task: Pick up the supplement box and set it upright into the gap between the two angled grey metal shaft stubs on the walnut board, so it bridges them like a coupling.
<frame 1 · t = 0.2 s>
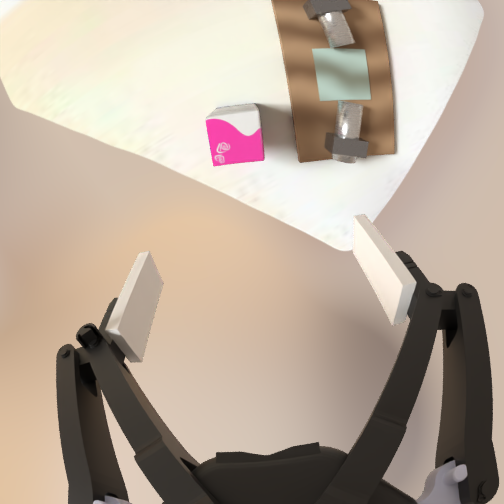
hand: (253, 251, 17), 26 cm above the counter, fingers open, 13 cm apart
board: (340, 74, 32), on the counter
supplement box: (237, 124, 36), on the counter
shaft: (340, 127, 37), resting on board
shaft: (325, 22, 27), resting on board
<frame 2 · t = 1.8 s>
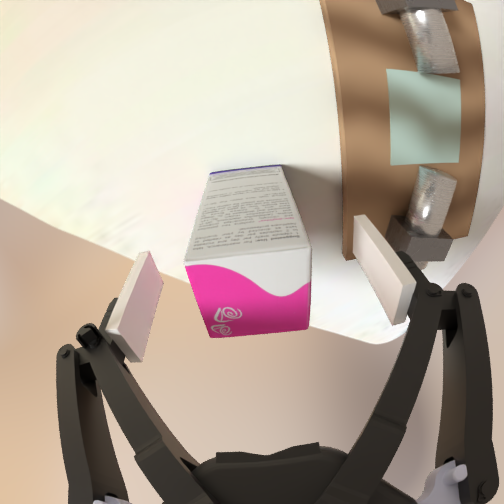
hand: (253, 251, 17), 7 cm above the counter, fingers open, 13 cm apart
board: (420, 116, 18), on the counter
supplement box: (248, 199, 22), on the counter
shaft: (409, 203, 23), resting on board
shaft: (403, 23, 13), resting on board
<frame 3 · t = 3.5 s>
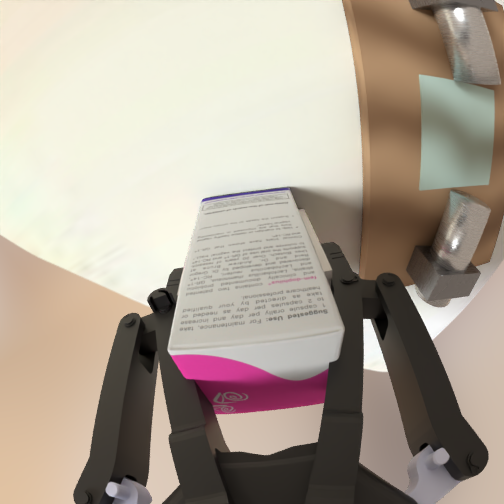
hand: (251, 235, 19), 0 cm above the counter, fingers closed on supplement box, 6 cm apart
board: (451, 131, 15), on the counter
supplement box: (249, 229, 19), on the counter, touching gripper
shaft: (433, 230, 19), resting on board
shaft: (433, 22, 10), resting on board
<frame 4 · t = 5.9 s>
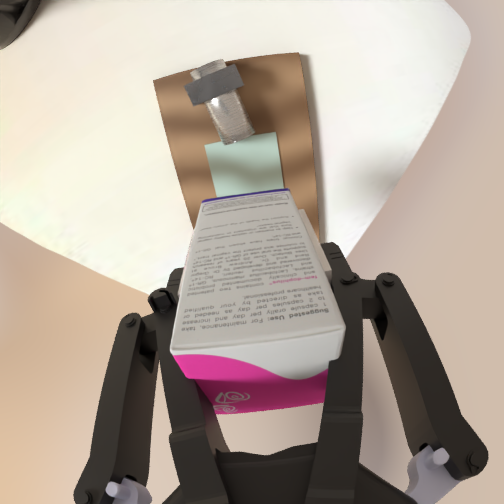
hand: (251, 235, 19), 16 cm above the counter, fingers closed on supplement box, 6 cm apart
board: (245, 167, 32), on the counter
supplement box: (249, 230, 19), point 15 cm above the counter, touching gripper
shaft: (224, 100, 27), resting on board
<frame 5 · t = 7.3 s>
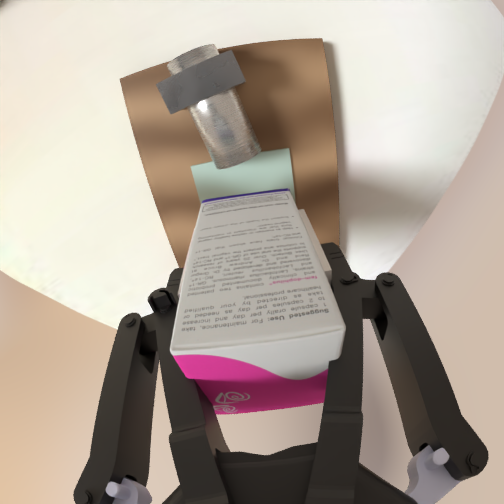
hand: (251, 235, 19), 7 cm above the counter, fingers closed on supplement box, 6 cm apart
board: (247, 194, 24), on the counter
supplement box: (249, 230, 19), point 6 cm above the counter, touching gripper
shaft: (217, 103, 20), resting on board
when the fingers open (3 cm above the counter, at t = 8.5 s): supplement box drops 1 cm, resting on board.
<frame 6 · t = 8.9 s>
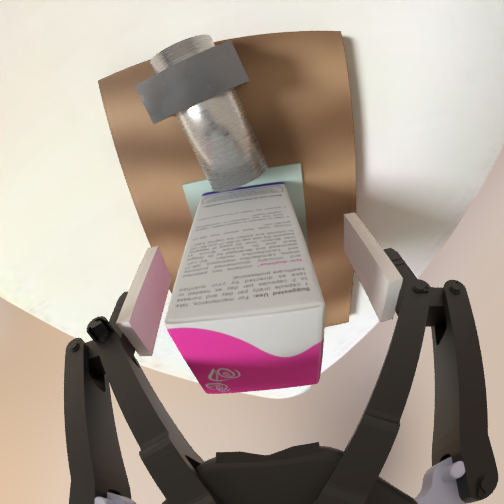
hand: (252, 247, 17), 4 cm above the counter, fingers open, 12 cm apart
board: (250, 216, 21), on the counter
supplement box: (247, 222, 20), point 1 cm above the counter, touching board
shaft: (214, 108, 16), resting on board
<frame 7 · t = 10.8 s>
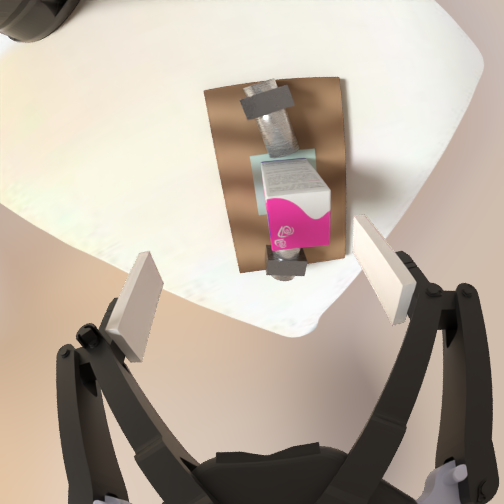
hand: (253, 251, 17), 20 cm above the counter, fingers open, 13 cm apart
board: (284, 179, 35), on the counter
supplement box: (284, 180, 34), point 1 cm above the counter, touching board
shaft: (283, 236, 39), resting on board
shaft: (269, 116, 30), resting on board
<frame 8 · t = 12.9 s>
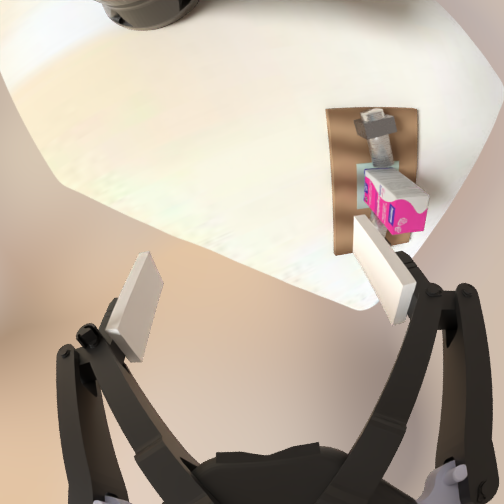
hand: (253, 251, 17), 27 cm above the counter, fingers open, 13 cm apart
board: (375, 182, 42), on the counter
supplement box: (377, 183, 41), point 1 cm above the counter, touching board
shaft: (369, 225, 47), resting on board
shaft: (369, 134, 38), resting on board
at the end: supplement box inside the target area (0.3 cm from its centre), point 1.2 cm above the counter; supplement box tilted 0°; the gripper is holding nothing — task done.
